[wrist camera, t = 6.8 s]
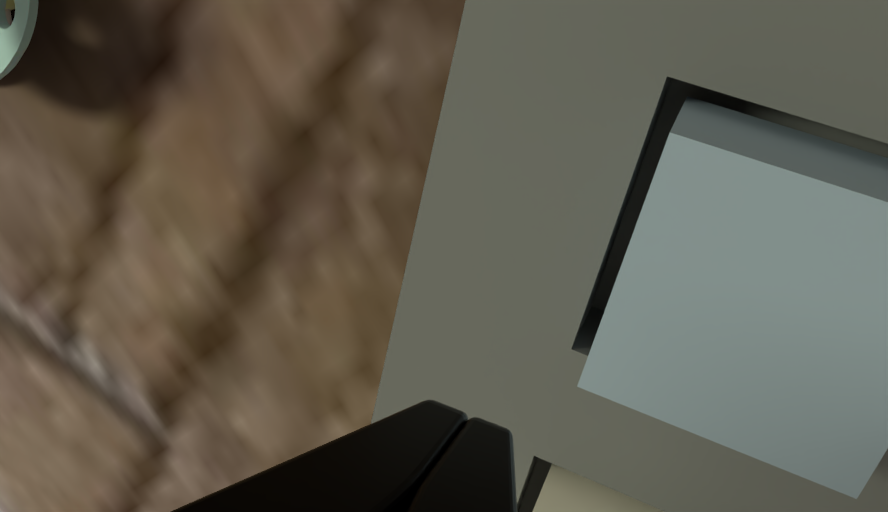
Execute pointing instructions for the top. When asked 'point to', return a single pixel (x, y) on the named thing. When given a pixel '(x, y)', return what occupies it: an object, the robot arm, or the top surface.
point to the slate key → (757, 297)
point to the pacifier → (15, 31)
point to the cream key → (583, 495)
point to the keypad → (602, 220)
